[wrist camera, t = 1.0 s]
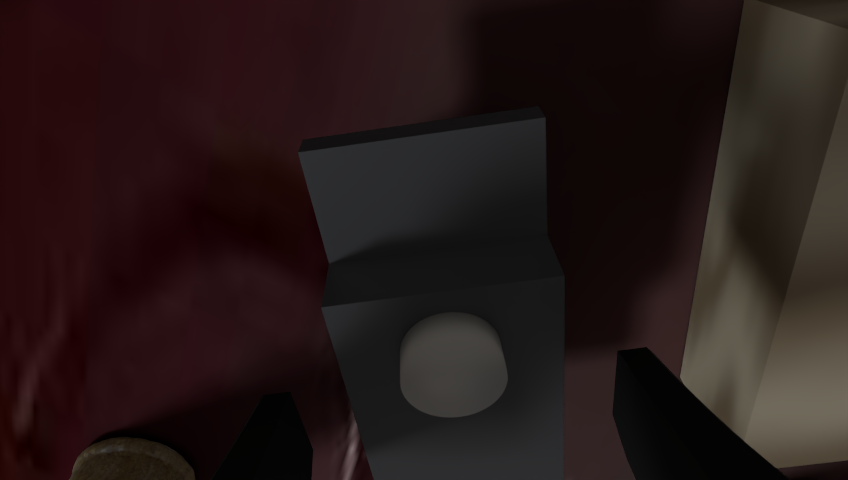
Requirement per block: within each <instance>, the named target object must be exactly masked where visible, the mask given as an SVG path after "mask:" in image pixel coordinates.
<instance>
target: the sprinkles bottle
mask: <svg viewBox="0 0 848 480" xmlns="http://www.w3.org/2000/svg"><path fill="white" fill-rule="evenodd" d="M69 480H195V476H194V470H193V469H192V467H191V466H190V465H189V463H187V462H186V460H185V459H184V458H183V457H182V456H181V455H180V454H179V453H177V452H176V451H175V450H173V449H171V448H169V447H168V446H166V445H163V444H161V443H158V442H153V441H148V440H146V439H142V438H130V437H117V438H110V439H107V440H102V441H101V442H98V443H95V444H93V445H91V446H89V447H88V448H87V449H85V450H84V451H83V452H82V453H81V454H80V455H79V457H78V458H77V460H76V462H75V465H74V467H73V470H72V476H71V478H70V479H69Z"/></svg>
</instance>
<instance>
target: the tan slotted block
mask: <svg viewBox="0 0 848 480" xmlns="http://www.w3.org/2000/svg"><path fill="white" fill-rule="evenodd" d="M680 378H681V380H682V382H683V383H684V385H685V386H686V387H687V388H688V389H689V390H690V391H691V392H692V393H693V394H694V395H695V396H696V397H697V398H698V399H699V400H700V401H701V402H702V403H703V404H704V405H705V406H706V407H707V408H708V409H709V410H711V411H712V412H713V413H714V414H715V415H716V416H717V417H718V418H719V419H720V420H721V421H723V422H724V423H725V424H726V425H727V426H728V427H729V428H730V429H731V430H732V431H733V432H734V433H736V434H737V435H738V436H739V437H740V438H741V439H742V440H744V441H745V442H746V443H747V444H748V445H749V446H750V447H752V448H753V449H754V450H755V451H756V452H758V453H759V454H760V455H761V456H762V457H764V458H765V459H766V460H767V461H768V462H769V463H771V464H772V465H773V466H774V467H776V468H783V467H792V466H801V465H810V464H819V463H828V462H837V461H845V460H848V0H744V4H743V10H742V16H741V22H740V28H739V34H738V39H737V45H736V51H735V57H734V63H733V69H732V75H731V81H730V86H729V92H728V98H727V104H726V110H725V116H724V122H723V128H722V134H721V139H720V145H719V151H718V157H717V163H716V169H715V175H714V181H713V187H712V192H711V198H710V204H709V210H708V216H707V222H706V228H705V234H704V240H703V245H702V251H701V257H700V263H699V269H698V275H697V281H696V287H695V293H694V298H693V304H692V310H691V316H690V322H689V328H688V334H687V340H686V345H685V351H684V357H683V363H682V369H681V375H680Z"/></svg>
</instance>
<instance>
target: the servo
mask: <svg viewBox="0 0 848 480" xmlns="http://www.w3.org/2000/svg"><path fill="white" fill-rule="evenodd" d="M298 154H299V158H300V162H301V165H302V169H303V172H304V176H305V179H306V183H307V186H308V190H309V194H310V197H311V201H312V204H313V208H314V211H315V215H316V218H317V222H318V226H319V229H320V233H321V236H322V240H323V243H324V247H325V251H326V254H327V258H328V261H329V268H328V273H327V278H326V284H325V289H324V294H323V300H322V305H321V309H322V312H323V315H324V319H325V322H326V325H327V328H328V332H329V335H330V338H331V341H332V345H333V348H334V351H335V354H336V358H337V361H338V364H339V368H340V371H341V374H342V377H343V381H344V384H345V387H346V390H347V394H348V397H349V400H350V403H351V407H352V410H353V413H354V416H355V420H356V423H357V426H358V429H359V433H360V436H361V439H362V442H363V446H364V449H365V452H366V455H367V459H368V462H369V465H370V468H371V472H372V475H373V478H374V480H564V340H565V275H564V273H563V270H562V268H561V265H560V263H559V261H558V258H557V256H556V254H555V251H554V249H553V247H552V244H551V242H550V240H549V237H548V235H547V174H546V117H545V116H544V114H543V112H542V111H541V109H540V108H539V106H536V107H529V108H522V109H515V110H508V111H501V112H494V113H487V114H480V115H473V116H466V117H459V118H452V119H445V120H438V121H431V122H424V123H417V124H410V125H403V126H396V127H389V128H382V129H375V130H368V131H361V132H354V133H347V134H340V135H333V136H326V137H319V138H312V139H305V140H303V141H302V143H301V146H300V149H299V151H298Z"/></svg>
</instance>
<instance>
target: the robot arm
mask: <svg viewBox="0 0 848 480" xmlns="http://www.w3.org/2000/svg"><path fill="white" fill-rule="evenodd" d="M613 416H614V420H615V423H616V426H617V429H618V433H619V436H620V439H621V442H622V445H623V448H624V451H625V454H626V457H627V460H628V462H629V465H630V467H631V469H632V471H633V474H634V476H635V478H636V480H790V479H789V478H788V477H787V476H785V475H784V474H783V473H782V472H780V471H779V470H778V469H777V468H776V467H774V466H773V465H772V464H771V463H769V462H768V461H767V460H766V459H765V458H764V457H762V456H761V455H760V454H759V453H758V452H756V451H755V450H754V449H753V448H752V447H750V446H749V445H748V444H747V443H746V442H745V441H744V440H742V439H741V438H740V437H739V436H738V435H737V434H736V433H734V432H733V431H732V430H731V429H730V428H729V427H728V426H727V425H726V424H725V423H724V422H723V421H721V420H720V419H719V418H718V417H717V416H716V415H715V414H714V413H713V412H712V411H711V410H709V409H708V408H707V407H706V406H705V405H704V404H703V403H702V402H701V401H700V400H699V399H698V398H697V397H696V396H695V395H694V394H693V393H692V392H691V391H690V390H689V389H688V388H687V387H686V386H685V385H684V384H683V383H682V382H681V381H680V380H679V379H678V378H677V377H676V376H675V375H674V374H673V373H672V372H671V371H670V370H669V369H668V368H667V367H666V366H665V365H664V364H663V363H662V362H661V361H660V360H659V359H658V358H657V357H656V356H655V355H654V354H653V353H652V351H650V350H649V349H648V348H647V347H645V348H637V349H629V350H621V351H618V353H617V366H616V378H615V390H614V403H613ZM312 458H313V449H312V446H311V444H310V441H309V439H308V436H307V433H306V431H305V428H304V426H303V423H302V421H301V418H300V416H299V413H298V410H297V408H296V405H295V403H294V400H293V398H292V395H291V393H290V392H286V393H278V394H270V395H263V396H262V398H261V399H260V400H259V402H258V403H257V405H256V407H255V408H254V410H253V412H252V413H251V415H250V417H249V418H248V420H247V422H246V423H245V425H244V427H243V428H242V430H241V432H240V433H239V435H238V437H237V438H236V440H235V441H234V443H233V445H232V446H231V448H230V450H229V451H228V453H227V454H226V456H225V457H224V459H223V461H222V462H221V464H220V465H219V467H218V468H217V470H216V471H215V473H214V474H213V476H212V477H211V479H210V480H311V477H312Z"/></svg>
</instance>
